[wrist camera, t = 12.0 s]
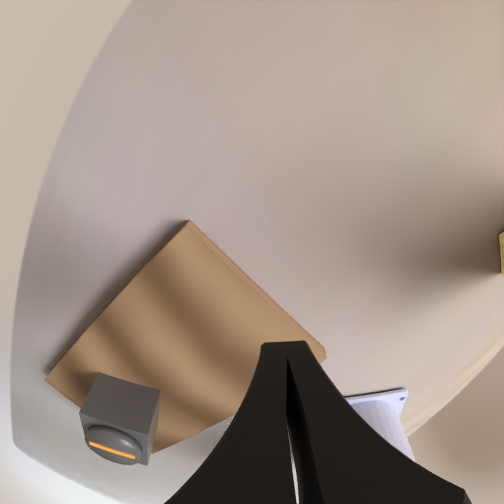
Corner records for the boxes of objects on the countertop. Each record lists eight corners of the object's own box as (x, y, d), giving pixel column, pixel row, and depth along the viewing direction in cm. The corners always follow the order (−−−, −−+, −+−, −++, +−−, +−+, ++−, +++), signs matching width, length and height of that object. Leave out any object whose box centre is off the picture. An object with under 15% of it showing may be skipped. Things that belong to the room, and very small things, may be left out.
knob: (160, 390, 23) (145, 444, 18) (157, 425, 25) (145, 474, 20) (99, 372, 22) (74, 421, 17) (103, 409, 24) (84, 454, 19)
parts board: (189, 219, 19) (185, 226, 18) (324, 347, 22) (327, 358, 21) (50, 371, 24) (44, 379, 23) (154, 444, 28) (151, 453, 27)
